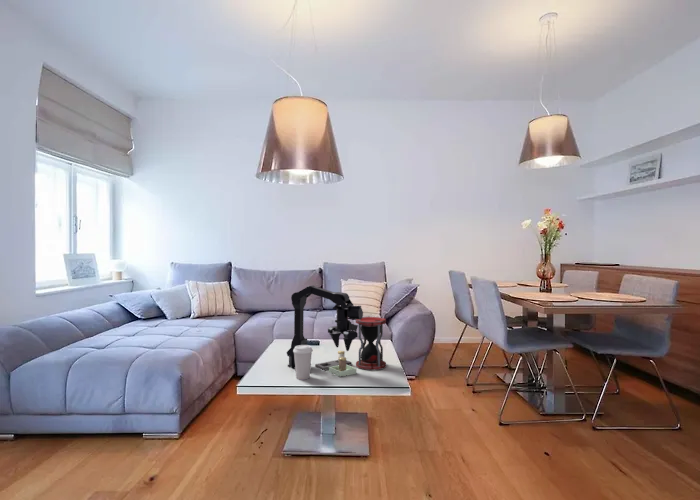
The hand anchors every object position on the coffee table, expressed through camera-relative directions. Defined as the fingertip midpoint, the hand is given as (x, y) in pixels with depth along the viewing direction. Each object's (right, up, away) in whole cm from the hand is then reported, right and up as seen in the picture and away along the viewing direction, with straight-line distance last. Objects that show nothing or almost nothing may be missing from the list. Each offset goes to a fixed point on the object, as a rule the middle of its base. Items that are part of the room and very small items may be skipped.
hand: (342, 349), depth 208 cm
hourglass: (+15, -12, +12) cm, 23 cm away
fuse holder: (-5, -12, +12) cm, 18 cm away
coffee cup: (-19, -12, -8) cm, 24 cm away
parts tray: (0, -12, 0) cm, 12 cm away
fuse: (-1, -12, +15) cm, 19 cm away
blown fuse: (0, -11, 0) cm, 11 cm away
